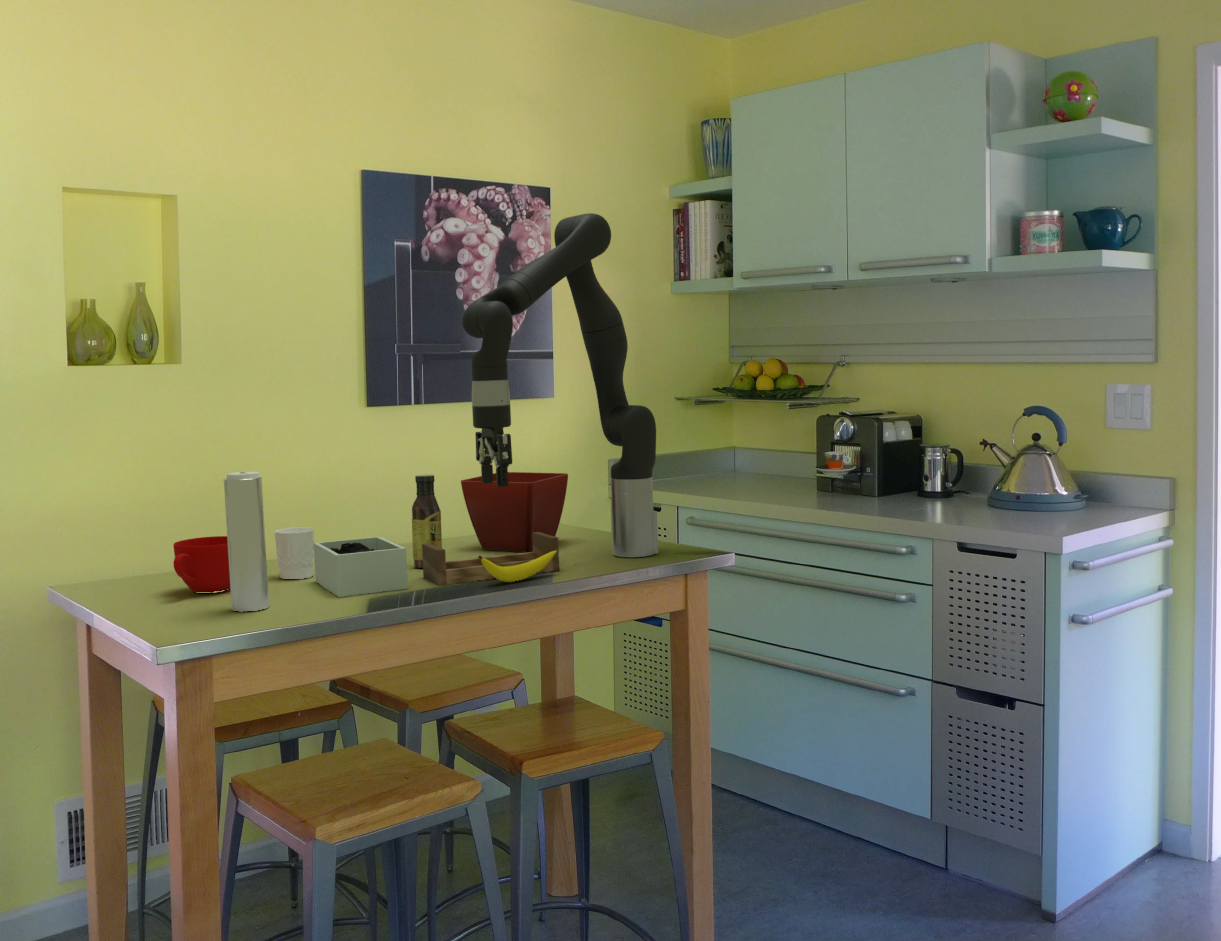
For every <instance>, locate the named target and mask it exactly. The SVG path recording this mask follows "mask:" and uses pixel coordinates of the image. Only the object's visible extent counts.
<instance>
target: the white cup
mask: <svg viewBox="0 0 1221 941" xmlns="http://www.w3.org/2000/svg"><path fill="white" fill-rule="evenodd" d="M314 531H315V530H314V528H313V527H309V526H308V527H304V526H303V527H301V526H300V527H297V526H296V527H286V528H280V529H276V530H274V538H275V539H274V540H275V550H276V558H277V566H278V569H279V570H278V571H279V579H280V578H283V579H300V580H304V578H307V579H310V578H313V577H314V564H315V557H314V543H315V541H314V540H315V539H314V538H315V535H314V534H315V532H314ZM312 576H313V577H312ZM283 579H282V580H283Z"/></svg>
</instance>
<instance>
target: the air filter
mask: <svg viewBox="0 0 1221 941" xmlns="http://www.w3.org/2000/svg"><path fill="white" fill-rule="evenodd" d="M262 480H263V478H262V476H261V474H260V472H259V471H237V472H229V473H226V478H224V479H223V488H224V489H223V490H224V492H223V493H224V504H225V505H224V506H225V519H226V520H225V522H226V536H227V540H228V556H229V572H230V588H229V589H230V602H231V611H232V610H233V611H232V612H234V611H256V612H259V611H258V610H261V611H263V610H262V609H265V610H267V609H269V608H270V597H269V582H268V581H269V580H268V579H269V578H268V565H267V547H266V532H265V513H264V499H263V498H264V496H263V482H262ZM268 607H269V608H268ZM266 608H267V609H266Z"/></svg>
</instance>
